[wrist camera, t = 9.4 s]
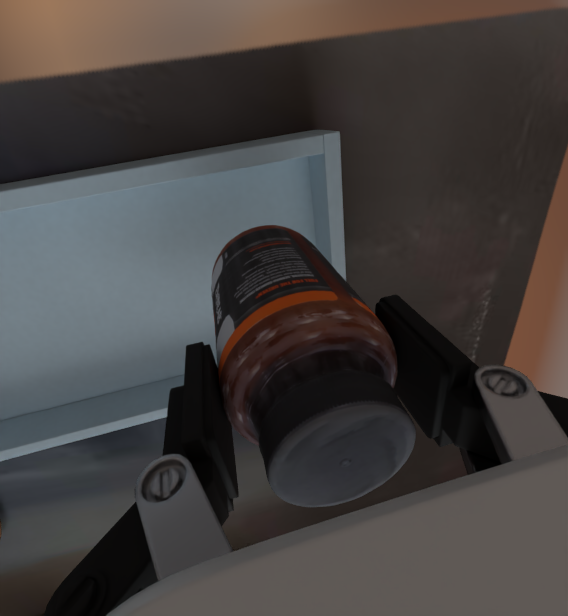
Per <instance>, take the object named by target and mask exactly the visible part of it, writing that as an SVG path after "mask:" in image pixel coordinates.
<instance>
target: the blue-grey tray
mask: <svg viewBox="0 0 568 616" xmlns="http://www.w3.org/2000/svg"><path fill="white" fill-rule="evenodd" d="M264 225H278V226H283V227H286V228H290V229H292V230H294V231H296V232H298V233H300V234H301V235H303V236H304V237H305V238H307V239H308V240H309V241H310V242H312V244H313V245H314V246H315V247H316V248H317V249H318V250H319V251H320V252H321V254H322V255H323V256H324V257H325V258H326V259H327V260H328V262H329V263H330V264H331V265H332V266H333V267H334V268H335V270H336V271H337V272H338V273H339V274H340V275H341V276H342V277H343V279H344V280H345V281H346V268H345V244H344V221H343V197H342V174H341V150H340V132H339V131H329V130H310V131H304V132H299V133H293V134H287V135H281V136H276V137H270V138H264V139H258V140H252V141H247V142H241V143H235V144H229V145H224V146H218V147H212V148H206V149H201V150H195V151H189V152H183V153H178V154H172V155H166V156H160V157H155V158H149V159H143V160H137V161H132V162H126V163H120V164H114V165H109V166H103V167H97V168H91V169H86V170H80V171H74V172H68V173H63V174H57V175H51V176H45V177H39V178H34V179H28V180H22V181H16V182H11V183H5V184H0V461H3V460H7V459H10V458H14V457H18V456H22V455H25V454H29V453H33V452H37V451H40V450H44V449H48V448H52V447H55V446H59V445H63V444H67V443H70V442H74V441H78V440H82V439H85V438H89V437H93V436H97V435H100V434H104V433H108V432H112V431H115V430H119V429H123V428H126V427H130V426H134V425H138V424H141V423H145V422H149V421H153V420H156V419H160V418H164V417H167V411H168V401H169V393H170V390H171V388H175V387H179V386H182V385H184V373H185V356H186V346H187V345H190V344H194V343H198V342H203V343H204V345H208V344H210V346H211V349H212V352H213V355H214V358H215V361H216V364H217V350H216V337H215V323H214V314H213V301H212V290H211V285H212V273H213V267H214V264H215V261H216V259H217V257H218V255H219V254H220V252H221V250H222V249H223V248H224V246H225V245H226V244H227V243H228V242H229V241H230V240H231V239H233V238H234V237H235V236H237V235H238V234H240V233H242V232H244V231H246V230H248V229H251V228H254V227H258V226H264ZM217 368H218V367H217Z"/></svg>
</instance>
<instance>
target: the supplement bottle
mask: <svg viewBox="0 0 568 616" xmlns="http://www.w3.org/2000/svg"><path fill="white" fill-rule="evenodd" d="M211 290H212V301H213V314H214V323H215V337H216V350H217V367H218V376H219V387H220V395H221V400H222V405H223V409H224V411H225V414H226V416H227V418H228V420H229V421H230V422H231V424H232V426H233V427H234V429H235V430H236V431H238V432H239V433H240V434H241V435H242V436H243V437H245V438H246V439H247V440H248V441H250V442H252V443H254V444H256V445H258V446H259V448H260V451H261V454H262V457H263V459H264V464H265V469H266V474H267V478H268V481H269V484H270V486H271V489H272V490H273V491H274V493H275V494H276V495H278V496H279V497H280V498H281V499H282V500H284V501H286V502H289V503H291V504H294V505H299V506H304V507H324V506H333V505H337V504H341V503H344V502H347V501H351V500H354V499H356V498H358V497H361V496H363V495H365V494H366V493H368V492H370V491H372V490H374V489H375V488H377V487H379V486H381V485H382V484H383V483H385V482H386V481H387V480H388V479H389V478H391V477H392V476H393V475H394V474H395V473H396V472H397V471H399V469H400V468H401V467H402V466H403V464H404V463H405V462H406V461H407V459H408V457H409V455H410V453H411V451H412V449H413V447H414V441H415V427H414V423H413V421H412V419H411V418H410V416H409V414H408V413H407V411H406V410H405V408H404V407H403V406H402V404H401V402H400V401H399V399H398V397H397V393H396V392H395V391H394V389H393V388H394V385H395V381H396V376H397V354H396V350H395V346H394V344H393V341H392V339H391V337H390V335H389V334H388V332H387V330H386V329H385V327H384V325H383V324H382V323H381V321H380V320H379V319H378V318H377V316H376V315H375V314H374V313H373V312H372V311H371V310H370V308H369V307H368V306H367V305H366V304H365V302H364V301H363V300H362V299H361V298H360V297H359V296H358V295H357V293H356V292H355V291H354V290H353V289H352V288H351V287H350V285H349V284H348V283H347V282H346V281H345V280H344V279H343V277H342V276H341V275H340V274H339V273H338V272H337V271H336V270H335V268H334V267H333V266H332V265H331V264H330V263H329V262H328V260H327V259H326V258H325V257H324V256H323V255H322V254H321V252H320V251H319V250H318V249H317V248H316V247H315V246H314V245H313V244H312V242H310V241H309V240H308V239H307V238H305V237H304V236H303V235H301V234H300V233H298V232H296V231H294V230H292V229H290V228H286V227H283V226H278V225H264V226H258V227H254V228H251V229H248V230H246V231H244V232H242V233H240V234H238V235H237V236H235V237H234V238H233V239H231V240H230V241H229V242H228V243H227V244H226V245H225V246H224V248H223V249H222V250H221V252H220V254H219V255H218V257H217V259H216V261H215V264H214V267H213V273H212V285H211Z"/></svg>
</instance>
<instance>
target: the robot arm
mask: <svg viewBox="0 0 568 616" xmlns="http://www.w3.org/2000/svg"><path fill="white" fill-rule="evenodd" d="M375 315H376V316H377V318H378V319H379V320H380V321H381V323H382V324H383V325H384V327H385V329H386V330H387V332H388V334H389V335H390V337H391V339H392V341H393V344H394V346H395V350H396V354H397V376H396V381H395V385H394V388H393V389H394V391H395V392H396V393H397V395H398V397H399V398H400V399H401V401H402V402H403V404H404V405H405V406H406V408H407V409H408V411H409V412H410V413H411V415H412V416H413V418H414V419H415V420H416V422H417V423H418V425H419V426H420V427H421V429H422V430H423V432H424V433H425V434H426V436H427V437H428V438H430V439H431V438H433V439H434V440H435V441H436V443H437V444H438V445H439V447H442V446H445V445H448V444H452V443H454V445H455V446H457V447H459V448H460V452H461V455H462V458H463V461H464V465H465V468H466V471H467V474H468V475H467V476H464V477H460V478H457V479H454V480H451V481H448V482H445V483H441V484H438V485H435V486H432V487H429V488H426V489H423V490H420V491H417V492H413V493H410V494H407V495H404V496H401V497H398V498H395V499H392V500H389V501H385V502H382V503H379V504H376V505H373V506H370V507H367V508H364V509H361V510H358V511H354V512H351V513H348V514H345V515H342V516H339V517H336V518H333V519H330V520H327V521H324V522H321V523H318V524H315V525H312V526H309V527H306V528H302V529H299V530H296V531H293V532H290V533H287V534H284V535H281V536H278V537H275V538H272V539H269V540H266V541H263V542H260V543H257V544H254V545H251V546H248V547H245V548H243V549H240V550H237V551H234V552H233V550H232V548H231V546H230V543H229V541H228V539H227V537H226V535H225V533H224V531H223V529H222V525H223V524H224V522H225V521H226V519H227V518H228V516H229V514H228V512H230V511H233V510H234V509H233V498H237V497H238V484H237V474H236V465H235V455H234V446H233V437H232V427H231V422H230V421H229V420H228V418H227V416H226V414H225V411H224V409H223V405H222V400H221V395H220V387H219V376H218V368H217V364H216V361H215V358H214V355H213V352H212V349H211V346H210V344H208V345H204V343H203V342H198V343H194V344H190V345H187V346H186V356H185V373H184V385H182V386H179V387H175V388H171V390H170V393H169V401H168V411H167V420H166V430H165V439H164V448H163V456H162V457H160V458H158V459H156V460H154V461H153V462H152V463H150V464H149V465H148V466H147V467H146V468H145V469H144V470H143V472H142V473H141V474H140V476H139V478H138V480H137V482H136V486H135V499H136V502H135V503H134V504H133V505H132V507H131V508H130V509H129V510H128V511H127V512H126V513H125V514H124V515H123V516H122V517H121V519H120V520H119V521H118V522H117V523H116V524H115V525H114V526H113V527H112V528H111V529H110V531H109V532H108V533H107V534H106V535H105V536H104V537H103V538H102V539H101V540H100V541H99V543H98V544H97V545H96V546H95V547H94V548H93V549H92V550H91V551H90V552H89V553H88V555H87V556H86V557H85V558H84V559H83V560H82V561H81V562H80V563H79V564H78V565H77V566H76V568H75V569H74V570H73V571H72V572H71V573H70V574H69V575H68V576H67V577H66V578H65V580H64V581H63V582H62V583H61V584H60V586H59V587H58V588H57V590H56V591H55V592H54V594H53V596H52V597H51V599H50V601H49V603H48V605H47V607H46V610H45V613H44V616H568V399H567V398H563V397H559V396H555V395H551V394H547V393H543V392H539V391H537V390H536V388H535V387H534V385H533V384H532V382H531V381H530V380H529V379H528V378H527V376H525V375H524V374H522V373H521V372H519V371H517V370H515V369H513V368H510V367H506V366H503V365H486V366H483V367H480V368H479V367H478V366H477V365H476V364H475V363H473V362H472V361H471V360H470V359H469V358H468V357H467V356H466V355H464V354H463V353H462V352H461V351H460V350H459V349H458V348H457V347H455V346H454V345H453V344H452V343H451V342H450V341H449V340H448V339H447V338H445V337H444V336H443V335H442V334H441V333H440V332H439V331H438V330H436V329H435V328H434V327H433V326H432V325H430V324H429V323H428V322H427V321H426V320H425V319H424V318H422V317H421V316H420V315H419V314H418V313H417V312H416V311H415V310H414V309H412V308H411V307H410V306H409V305H408V304H407V303H406V302H405V301H403V300H402V299H401V298H400V297H399V296H398V295H392V296H388V297H384V298H381V299H380V301H379V303H377V304H376V309H375Z"/></svg>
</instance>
